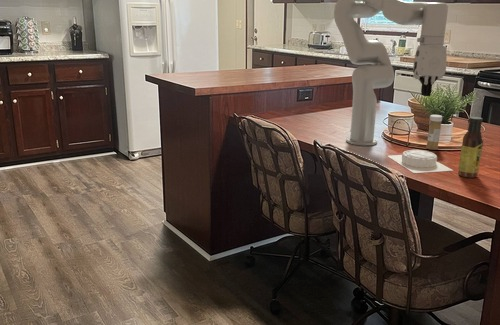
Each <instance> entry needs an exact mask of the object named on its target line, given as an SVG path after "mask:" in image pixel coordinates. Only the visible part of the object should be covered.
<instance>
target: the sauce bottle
mask: <svg viewBox="0 0 500 325" xmlns="http://www.w3.org/2000/svg"><path fill="white" fill-rule="evenodd" d="M483 120H484V119H483V118H482V117H480V116H470V117H468V127H467V132H466V133H464V135H463V137H462V145H461V149H460V153H459V154H460V156H459V164H458V175H459V176H460V177H462V178H469V179H473V178H476V177H478V174H479V170H480V164H481V158H482V151H483V146H484V140H483V136H482V132H481V131H482V130H481V129H482V124H483Z"/></svg>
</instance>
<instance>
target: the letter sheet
mask: <svg viewBox="0 0 500 325" xmlns="http://www.w3.org/2000/svg"><path fill="white" fill-rule="evenodd" d="M387 157H388V158H389V159H391V160H393V161H394V162H395V163H398V164H399V165H400V166H402V167H404V168H405V169H406V170H407V171H410V172H411V173H412V174H425V173H439V172H440V173H441V172H453V171H454V170H453V169H452V168H450V167H448V166H446V165H444V164H443V163H440V162H439V161H437V162H436V165H435V166H433V167H428V168H425V167H424V168H421V167H412V166H410V165H406V164H404V163H403V162H402V154H394V155H393V154H391V155H387Z"/></svg>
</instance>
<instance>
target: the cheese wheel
mask: <svg viewBox="0 0 500 325" xmlns="http://www.w3.org/2000/svg"><path fill="white" fill-rule="evenodd" d="M401 153H402V154H401V155H402V162H403V163H404V164H406V165H410V166H412V167H421V168H424V167H425V168H428V167H433V166H435V165H436V162H438V161H437V160H438V156H437V154H435V152H432V151H429V150H424V149H423V150H422V149H409V150H405V151H403V152H401Z"/></svg>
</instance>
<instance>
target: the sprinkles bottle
mask: <svg viewBox="0 0 500 325" xmlns="http://www.w3.org/2000/svg"><path fill="white" fill-rule="evenodd" d="M442 121H443V116H442V115H440V114H431V115H430V116H429V128H428V134H427V142H426V146H425V148H426V149H428V150H432V151H433V150H435V151H436V150H438V149H439V142H440V137H441V136H440V135H441V129H442V128H441V125H442Z"/></svg>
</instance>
